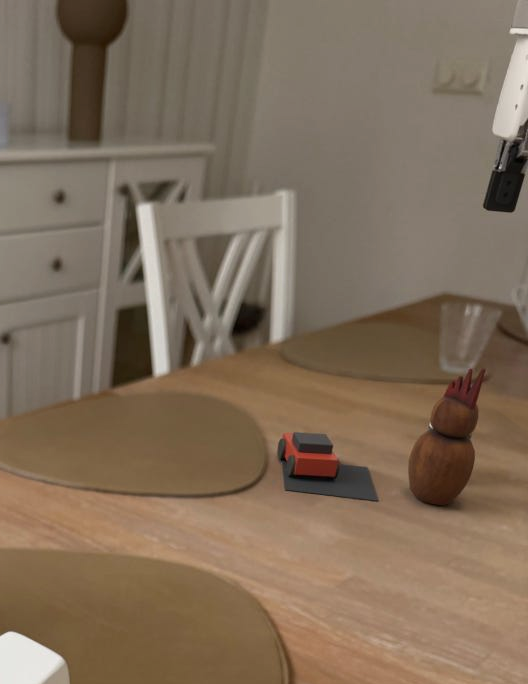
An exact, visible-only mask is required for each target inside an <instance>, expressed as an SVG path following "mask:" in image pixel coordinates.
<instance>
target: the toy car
mask: <svg viewBox="0 0 528 684" xmlns="http://www.w3.org/2000/svg"><path fill="white" fill-rule="evenodd" d="M333 449H334V444H333V443H332V441H331V440H330V438H329V437H328V435H327V434H326V433H314V432H299V431H294V432H293V433H292V432H283V433H282V438H279V441H278V444H277V450H276V451H277V459H278V460H282V459H286V460H287V466H286V472H287V475H288V476H293V477H295V476H296V475H313V476H327V478H328V479H336V478H337V476H338V473H339V467H340V464H341V463H340V458H339V457H337V456H336V454H335V452H334V451H333Z"/></svg>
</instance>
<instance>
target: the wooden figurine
mask: <svg viewBox="0 0 528 684" xmlns="http://www.w3.org/2000/svg"><path fill="white" fill-rule="evenodd" d="M485 373H486V368H481V370H480V371H479V372H478V374H477V376H476V378H475V380H474V381H473V383H472V378H473V368H469V369H468V371H467V373H466V375H465V378H464V377H463V376H462V375H459V376H458V377H457V380H456V381H455V380H451V381H450V382H449V384H448V385H447V388H446V390H445V392H444V395H443V397H440V399H438V400H437V401H436V402H435V404H434V405H433V407H432V410H431V413H430V418H429V424H430V423H431V426H432V429H429V430H428V429H427V430H426V431H424V432H423V433H422V434H420V435H419V437H418V438H417V439H416V441H415V442H414V443H413V446H412V449H411V450H410V455H409V458H408V467H407V468H408V469H407V470H408V471H407V472H408V473H407V475H408V485H409V490H410V491H411V493H412V495H413V496H414V497H415V498H416V499H418V500H420V501H421V502H424V503H427V504H431V505H440V506H443V505H448V504H450V503H452V502H453V501H455V500H456V499H457V498H458V497H459V495H460V494H461V493H462V492H463V490H465V487H466V486H467V484H468V482H469V480H470V478H471V476H472V473H473V469H474V465H475V460H476V458H475V457H476V451H475V447H474V445H473V442H472V439H469V438H468V437H466V436H468V435H470V434H471V433H472V434H473V432H474V431H475V430H476V427H477V424H478V421H479V412H480V411H479V406H478V404H477V403H478V399H479V395H480V392H481V388H482V384H483V381H484V377H485Z"/></svg>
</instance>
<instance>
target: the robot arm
mask: <svg viewBox="0 0 528 684" xmlns="http://www.w3.org/2000/svg"><path fill="white" fill-rule="evenodd" d="M508 34H509V35H512V36H517V39H516V42H515V45H514V49H513V51H512V54H511V55H510V61H509V64H508V67H507V69H506V70H507V71H506V74H505V77H504V80H503V84H502V88H501V91H500V95H499V98H498V102H497V106H496V110H495V113H494V118H493V121H492V122H493V123H492V127H491V128H492V133H493V135H494V136H495V137H496V138H498V139H499V142H498V146H497V150H496V155H495V159H494V163H493V169H492V171H491V175H490V177H489V181H488V185H487V189H486V192H485V196H484V200H483V203H482V208H483V209H485V210H486V211H488V212H496V213H497V212H499V213H507V214H508V213H510V214H512V213H514V212H515V211H516V208H517V204H518V200H519V197H520V194H521V190H522V188H523V185H524V180H525V177H526V173H527V171H528V0H517V4H516V7H515V11H514V14H513V19H512V22H511V26H510V29H509V33H508Z"/></svg>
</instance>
